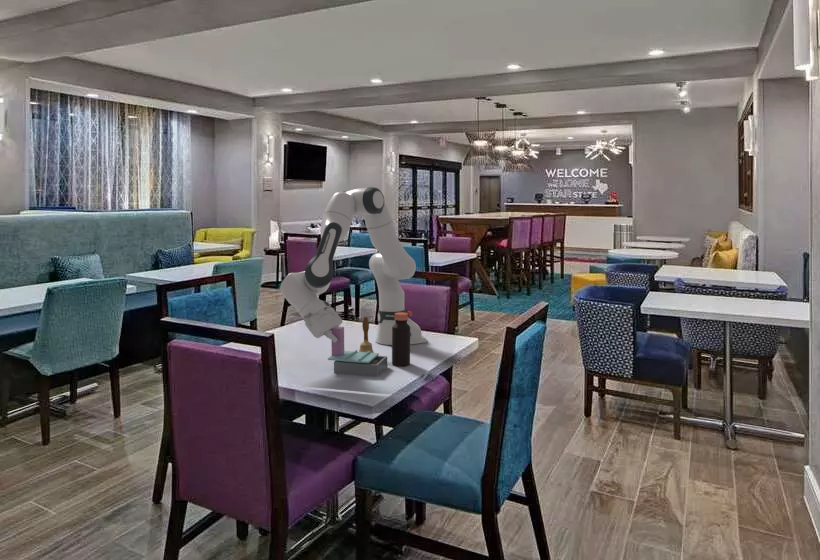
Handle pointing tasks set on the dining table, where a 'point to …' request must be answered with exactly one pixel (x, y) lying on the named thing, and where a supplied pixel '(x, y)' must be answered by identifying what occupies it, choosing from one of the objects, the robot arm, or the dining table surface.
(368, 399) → the dining table surface
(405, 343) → the bottle
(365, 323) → the hand bell
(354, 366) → the tray
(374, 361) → the part
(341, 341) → the lid
